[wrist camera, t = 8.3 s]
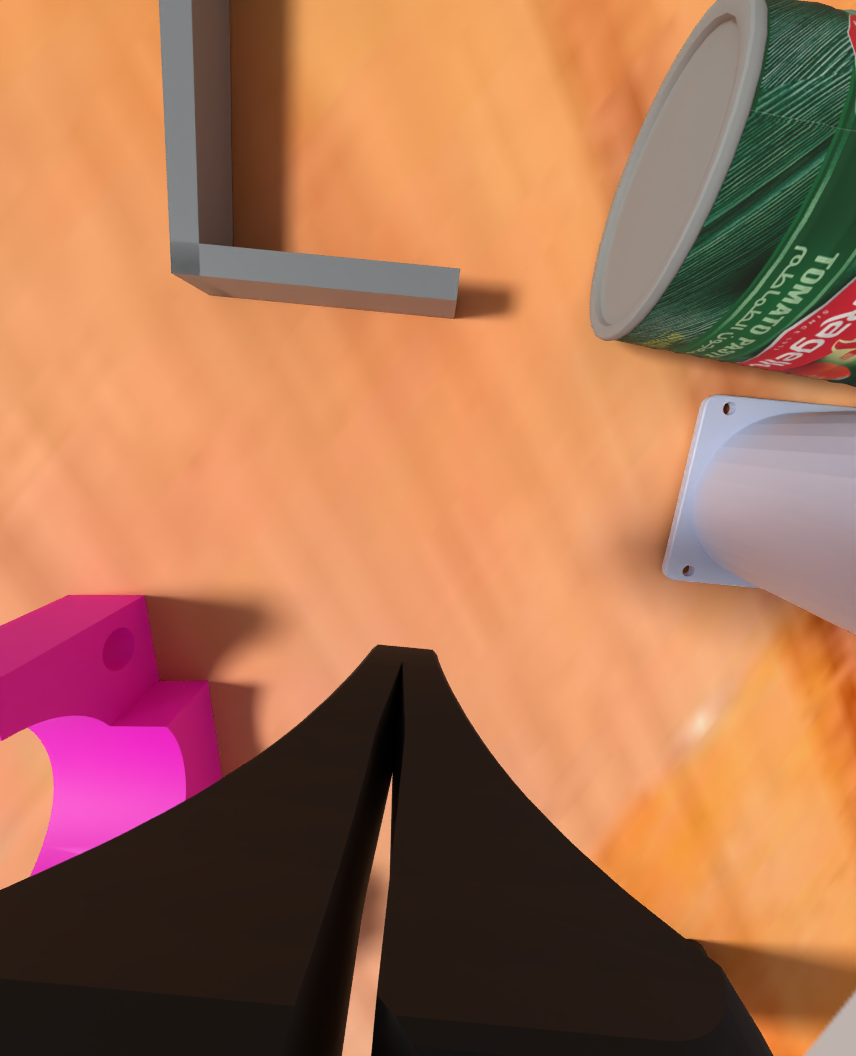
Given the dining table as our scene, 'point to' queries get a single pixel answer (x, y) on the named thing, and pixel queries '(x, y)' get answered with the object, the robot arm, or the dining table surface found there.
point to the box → (206, 193)
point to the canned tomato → (743, 198)
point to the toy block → (103, 719)
